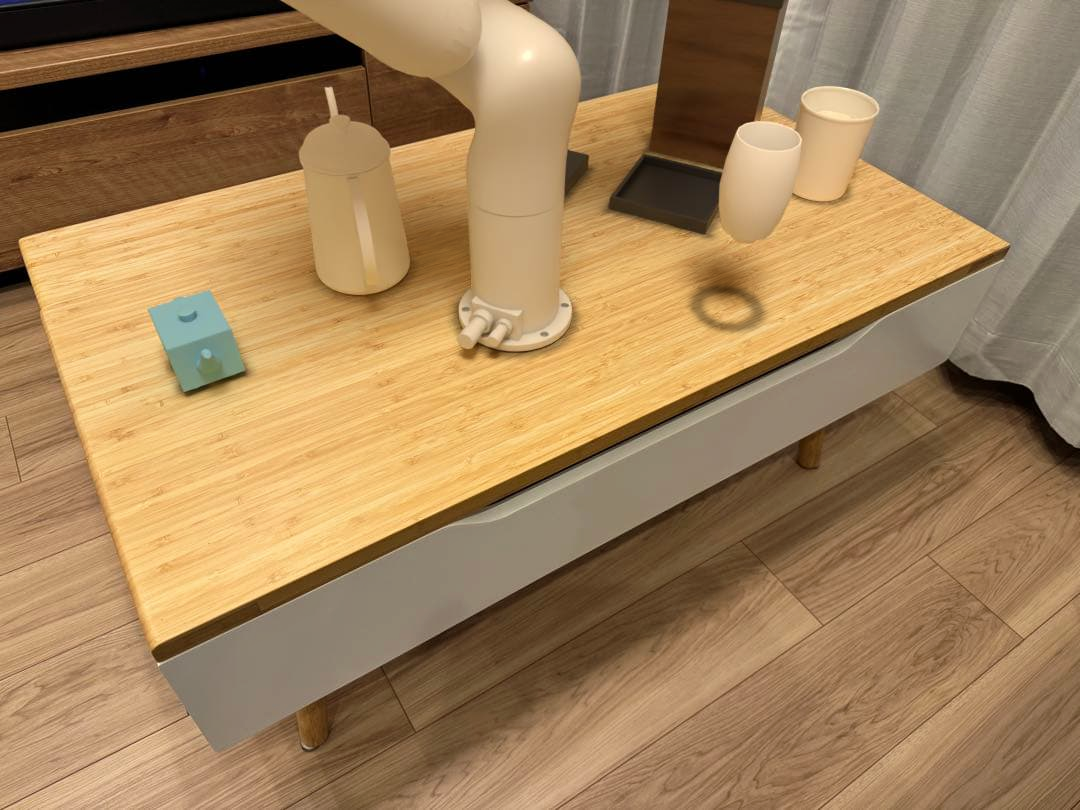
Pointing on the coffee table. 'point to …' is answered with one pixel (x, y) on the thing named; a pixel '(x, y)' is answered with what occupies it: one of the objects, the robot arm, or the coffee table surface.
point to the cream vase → (758, 179)
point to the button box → (574, 168)
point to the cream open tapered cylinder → (831, 139)
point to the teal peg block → (197, 340)
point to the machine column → (713, 74)
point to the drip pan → (669, 193)
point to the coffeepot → (353, 206)
